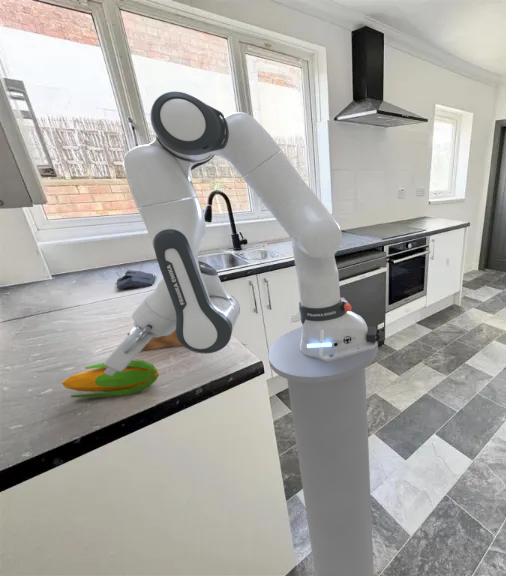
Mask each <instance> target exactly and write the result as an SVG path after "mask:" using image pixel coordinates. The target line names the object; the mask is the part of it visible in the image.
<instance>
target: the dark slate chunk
mask: <svg viewBox="0 0 506 576" xmlns="http://www.w3.org/2000/svg"><path fill="white" fill-rule="evenodd" d="M153 274H154V273H149V272H145V271H141V270H130V269H129V270H126V272H125V274H124V275H123V276H122V277H119V278H117V279H116V282H117V283H116V285H117V287H118V288H120V289H132V288H133V289H134V288H140V287H149V286H152V285H153V284H154V282H155V280H156V276H155V274H154V276H153Z"/></svg>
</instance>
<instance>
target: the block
mask: <svg viewBox="0 0 506 576" xmlns="http://www.w3.org/2000/svg"><path fill="white" fill-rule="evenodd" d="M135 329H136V328H135V326H134V327H132V328H131V330H129V331H128V333H126V335H127V336H128V335H129V334H130V333H131V332H132V331H134V330H135ZM179 346H183V345H182V344H181V343H180V342H179V340H178V338H177V335H176V329H175V331H174V332H173V333H172V334H170V335H167V336H161V337H153V338H152V339H151V340H150V341H149V342H148V343H147V344H146V346H145V347H144V348H143V349H142V350H141V351H140V352H143V351H150V350H157V349H164V348H165V349H166V348H172V347H179Z"/></svg>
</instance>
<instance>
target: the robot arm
mask: <svg viewBox="0 0 506 576" xmlns="http://www.w3.org/2000/svg"><path fill="white" fill-rule="evenodd" d="M149 119H150V121H149V122H150V125H151V129H152V131H153V132H154V134H155V138H154V140H153V141H152V142H150V143H149V144H142V145H138V146H135V147H133V148H130V149H129V150H128V151H127V152H125V154H124V156H123V159H122V165H123V169H124V173H125V177H126V181H127V184H128V187H129V190H130V194H131V195H132V199H133V201H134V203H135V205H136V208H137V210H138V212H139V215H140V217H141V219H142V221H143V224H144V226H145V228H146V230H147V231H146V232H147V233H148V235H149V238H150V241H151V244H152V248H153V250H154V253H155V257H156V260H157V263H158V266H159V269H160V272H161V276H162V279H161V280H160V281H159V282H158V284H157V285H156V288H155V290H154V291H152V292H151V293H148V295H147V296H146V297H145V298H144V300H142V302H141V303H140V304H139V305H138V306H137V308H136V309H135V310H134V311H133V313H132V320H133V326H134V327H135V328H136V329H135V330H134V331H132V332H131V333H130V334H129V335H127V336H125V338H124V339H123V340H122V342H120V344H118V346H117V347H116V348H115V349H114V350H113V351H112V352H111V354H110V355H109V356H108V357H107V358H106V360H105V361H104V362H105V363H104V362H103V363H104V365H105V366H106V367H108V368H107V369H106V370H105V371H104V373H105V374H107V375H109V376H113V375H114V374H115V373H116V372H122V371H123V370H124V369H125V368H126V367H127V366H128V365H129V364H130V363H131V362H132V361H134V360H135V358H136V357H138V355H139V354H140V352H142V351H141V350H142V349H143V348H144V347H145V346H146V344H147V343H148V342H149V341H150V340H151V339H152V338H153V337H161V336H167V335H170V334H172V333H173V332H174V331H175V329H176V335H177V338H178V340H179V342H180V343H181V344H182V345H181V346H183V347H184V348H185V349H187V350H188V351H189V352H193V353H196V354H203V355H204V354H205V355H207V354H213V353H217V352H220V351H221V350H222V349H224V348H225V347H226V346H227V345H228V344H229V342H230V341H231V337H232V334H233V329H234V328H235V325H236V323H237V320H238V319H239V316H240V311H241V307H240V304H239V302H238V300H237V298H235V296H233V295H232V294H231V293H229V291H228V290H227V289H226V287H225V286H224V285H223V283H222V281H221V279H220V275H219V272H218V271H217V270H216V269H215V267H213V266H212V265H210V264H209V263H206V262H204V261H201V260H199V250H200V246H201V242H202V241H203V238H204V236H205V234H206V231H207V224H206V219H205V214H204V210H203V207H202V204H201V201H200V198H199V197H198V194H197V192H196V189H195V187H194V183H193V180H192V176H191V171H193V170H195V169H197V168H198V167H200V166H203V165H205V164H206V163H209V162H210V161H211V160H212V159H213V158H214V157H215V156H217V157H220V158H222V159H224V160H226V162H228V163H229V164H230V165H231V166H232V167H233V168H234V169H235V170H236V171H237V173H238V174H239V176H240V177H241V178H242V179H243V180H244V182H245V183H246V184H247V186H249V188H250V189H251V190H252V192H253V193H254V194H255V195H256V197H257V198H258V199H259V200H260V201H261V203H262V204H263V205H264V206H265V208H267V210H268V212H270V213H271V215H272V216H273V217H274V218H275V220H276V221H277V223H278V224H279V225H280V226H281V227H282V228H283V229H284V231H285V232H286V234H287V235H288V236H289V237H290V242H291V246H292V254H293V260H294V266H295V271H296V278H297V285H298V286H297V287H298V293H299V294H298V295H299V302H298V314H299V319H300V322H301V327H302V337H301V344H300V351H301V352H302V353H303V354H304V355H306V356H309V357H313V358H318V359H320V360H322V361H324V362H330V361H334V360H337V359H341V358H345V357H348V356H352V355H355V354H359V353H362V352H366V351H370V350H373V349H375V348H376V345H377V341H379V340H380V338H381V335H380V334H379V333H378V332H377V326H368V325H367V323H366V321H365V319H364V318H363V317H362V316H361V315H360V314H357V313H356V312H354V311H352V305H351V303H349V302H348V300H347V299H346V298H345V297H344V296H342V297H341V290H340V287H341V286H340V274H339V269H338V265H337V262H336V258H335V257H336V256H335V254H336V253H337V252H338V251H339V250H340V248H341V246H342V244H343V233H342V230H341V227H340V225H339V223H338V222H337V221H336V219H335V218H334V217H333V215H332V213H330V211H329V210H328V209H327V207H326V206H325V205H324V203H323V202H322V201H321V200H320V199H319V197H318V195H316V194H315V192H314V191H313V190H312V189H311V188H310V187H309V186H308V184H307V183H306V182H305V180H304V179H303V177H302V176H301V175H300V174H299V172H298V171H297V169H296V168H295V166H294V165H293V164H292V162H291V161H290V159H289V158H288V157H287V156H286V154H285V153H284V151H283V150H282V148H281V147H280V145H279V144H278V143H277V142H276V140H274V138H273V137H272V136H271V134H269V132H268V131H267V130H266V129H265V128H264V127H263V126H262V125H261V123H260V122H258V120H257V119H256V118H254V117H253V116H252V115H251V114H249V113H247V112H243V111H237V112H231V113H230V114H227V115H224V114H223V112H221V111H220V110H219V109H217V108H215V107H212V106H211V105H209V104H208V103H205V102H204V101H202V100H200V99H199V98H198V97H196V96H194V95H191V94H189V93H186V92H183V91H168V92H165V93H163V94H160V95H159V96H157V98H156V99H154V101H153V103H152V105H151V108H150V113H149Z"/></svg>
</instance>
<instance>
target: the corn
mask: <svg viewBox="0 0 506 576" xmlns="http://www.w3.org/2000/svg"><path fill="white" fill-rule="evenodd" d="M104 363H105V361H104V362H101V363H96V364H92V365H88V366H84V369H85V371H81V372H79V373H76V374H73V375H70V376H69V377H67V378H65V380H63V381H62V382H61V384H62V386H63V387H64V388H65V389H68V390H73V391H77V392H94V393H87V394H73V395H70V398H91V399H93V398H105V397H119V396H130V395H134V394H138V393H140V392H142V391H144V390H146V389H147V388H149V387H151V386H152V385H153V384H154V383H155V382H156V381H157V380H158V378H159V375H160V373H159V370H158V368H156V367H155V365H154V364H152V363H151V362H148V361H146V360H143V359H142V360H141V359H140V360H139V359H138V360H132V362H131V363H130V364H129V365H128V366H127V367H126V368H125V369H124V370H123V371H122V372H116V373H115V374H114V375H113V376H109V375H107V374H105V373H104V371H105V370H106V369H107V368H108V367H106V366H105V365H104Z"/></svg>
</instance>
